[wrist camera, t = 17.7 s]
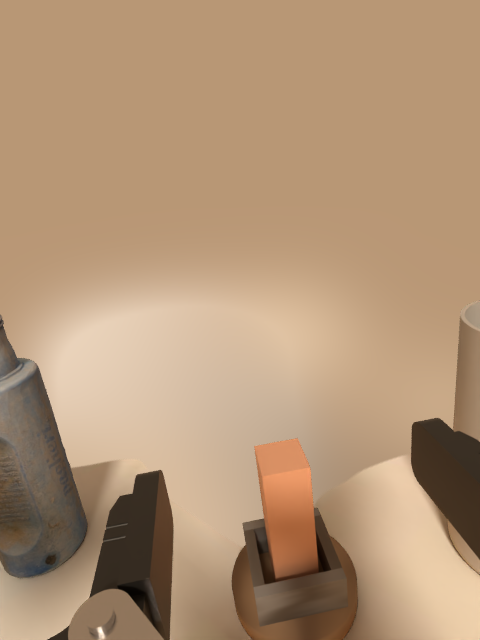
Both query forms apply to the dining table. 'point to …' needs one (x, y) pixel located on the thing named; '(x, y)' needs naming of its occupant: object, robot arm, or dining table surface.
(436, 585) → the dining table surface
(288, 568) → the post
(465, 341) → the cylinder vase
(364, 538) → the dining table surface
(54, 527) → the bottle
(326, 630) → the block holder stand
